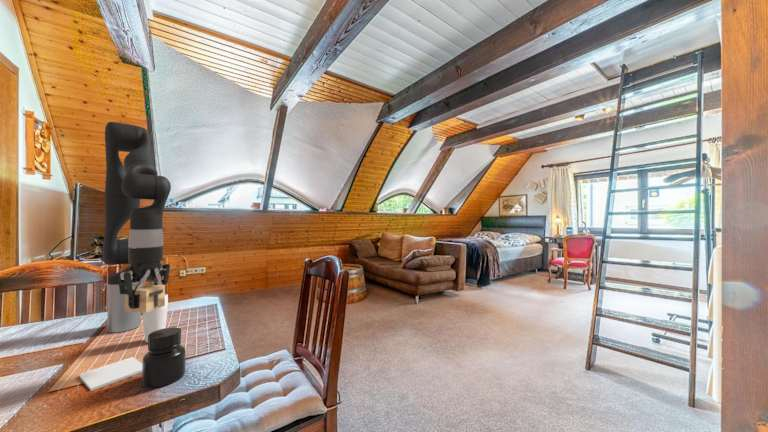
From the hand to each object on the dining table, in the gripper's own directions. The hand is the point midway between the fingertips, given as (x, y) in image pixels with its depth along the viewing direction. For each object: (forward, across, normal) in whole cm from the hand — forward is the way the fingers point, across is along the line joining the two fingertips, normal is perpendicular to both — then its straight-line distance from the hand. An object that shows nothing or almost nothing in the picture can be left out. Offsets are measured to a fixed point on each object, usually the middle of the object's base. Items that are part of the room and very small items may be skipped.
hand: (145, 304), depth 79 cm
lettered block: (+1, 0, 0) cm, 1 cm away
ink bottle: (+17, +6, +11) cm, 21 cm away
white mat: (+17, +5, -4) cm, 18 cm away
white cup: (+18, -15, -11) cm, 25 cm away
